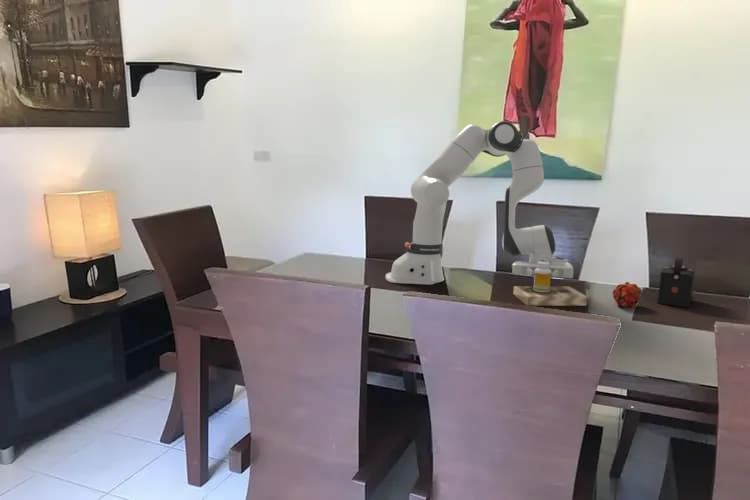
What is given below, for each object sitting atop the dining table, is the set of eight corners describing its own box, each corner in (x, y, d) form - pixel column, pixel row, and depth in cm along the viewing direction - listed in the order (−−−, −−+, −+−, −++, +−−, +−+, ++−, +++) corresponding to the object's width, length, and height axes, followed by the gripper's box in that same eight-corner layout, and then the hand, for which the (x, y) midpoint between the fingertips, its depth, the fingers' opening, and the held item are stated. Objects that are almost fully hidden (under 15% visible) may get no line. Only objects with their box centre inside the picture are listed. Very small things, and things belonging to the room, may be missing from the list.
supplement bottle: (551, 292, 188) (554, 264, 186) (535, 292, 188) (537, 264, 187) (547, 288, 194) (549, 261, 192) (531, 288, 194) (533, 260, 192)
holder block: (527, 305, 184) (528, 296, 183) (513, 294, 198) (513, 285, 197) (586, 305, 186) (587, 296, 185) (568, 294, 199) (569, 286, 199)
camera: (694, 300, 197) (699, 257, 194) (692, 309, 185) (698, 264, 182) (659, 295, 202) (664, 254, 200) (656, 303, 190) (661, 260, 188)
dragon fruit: (635, 307, 191) (621, 319, 182) (615, 289, 194) (600, 300, 186) (652, 291, 185) (638, 303, 177) (631, 273, 189) (617, 283, 180)
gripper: (512, 255, 204) (511, 262, 191) (572, 259, 199) (575, 267, 186) (511, 272, 205) (510, 281, 192) (570, 276, 200) (573, 285, 187)
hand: (542, 274), depth 189 cm, fingers closed on supplement bottle, 5 cm apart
